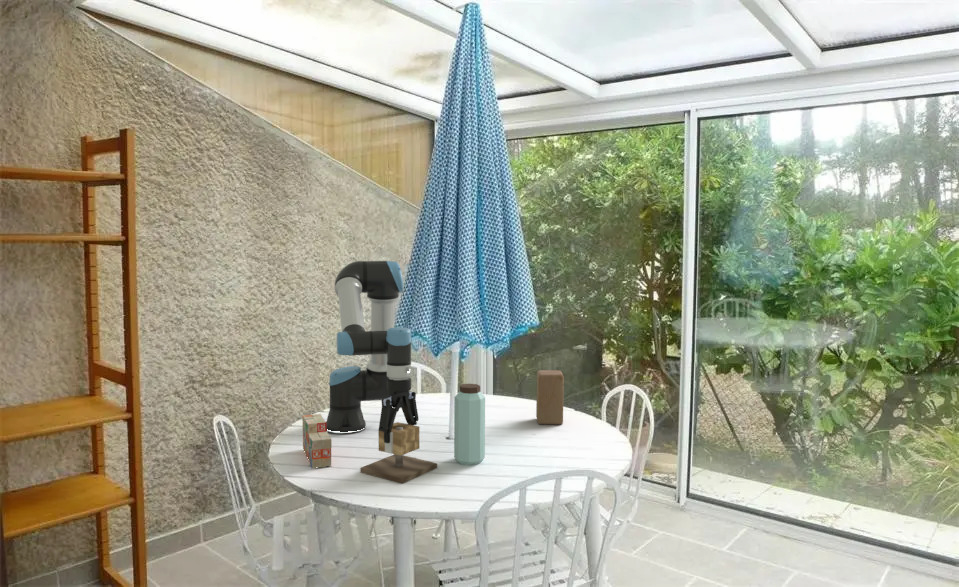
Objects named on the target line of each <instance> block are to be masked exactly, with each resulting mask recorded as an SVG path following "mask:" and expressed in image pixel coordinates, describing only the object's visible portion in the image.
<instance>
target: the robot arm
mask: <svg viewBox="0 0 959 587" xmlns="http://www.w3.org/2000/svg"><path fill="white" fill-rule="evenodd" d="M403 281H404V280H403V273H402V268H401V264H399V263H398V262H397V261H394V260H393V261H392V260H358V261H352V262H350V263H348V264H347V265H346V266H344V267H343V268H342V269H341V270H340V271H339V272H338V274H337V275H336V278H335V281H334V292H335V295H336V296H337V297H338V307H339V316H340V317H339V318H340V328H341V331H340V332H337V333H336V353H337V355H339V356H350V357H352V356H368V355H370V361H369V362H368V363H367V364H366V369H364V370H362V369H361V367H360V366H357V365H355V366H353V365H352V366H350V365H349V366H345V367H340V368H337V369H334V370H332V371H331V372H330V374H329V381H328V385H329V411H328V414H327V418H326V420H325V421H326V429H328V430H331V431H340V432H348V431H357V430H361V429H363V428H365V426H366V420H365V419H364V415H363V412H362V407H361V406H362V405H361V404H362V403H361V402H366V401H367V402H368V401H370V402H371V401H372V402H373V401H381V411H380V418H379V424H378V432H379V431H382V432H384V443H385V452H384V453H387V454H391V455H393V454H392V453H393V432H391V430H392V427H393V424H394V423H395V419H396V417H397V414H398V412H399V411H400V409H401V411H402V413H403V416H404V418H405V421H406V424H409V425H414V426H417V424H418V421H419V419H420V418H419V413H418V407H417V401H416V395H417V392H415V391H412V378H411V377H412V334H411V333H412V330H411V329H410V328H408V327H401V326H400V327H396V326H395V302H396V301H397V300H398V299H399V295H400V294H399V293H403V292H404V282H403ZM364 293H366V295H367V296H366V297H367V298H368V299H369V300H370V306H371V308H370V330H368V331H367V330H366V328H365V320H364V314H363V313H364V311H363V306H362V298H361V294H364ZM365 429H366V428H365Z"/></svg>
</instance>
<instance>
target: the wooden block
mask: <svg viewBox="0 0 959 587" xmlns="http://www.w3.org/2000/svg"><path fill="white" fill-rule="evenodd" d="M564 378H565V376H564V374H563V372H562V371H561V370H559V369H558V370H555V369H554V370H553V369H551V370H549V369H548V370H546V369H545V370H544V369H543V370H540V369H539V370H537V371H536V408H535V410H536V411H535V412H536V413H535V415H536V421H537V424H539V425H551V426H552V425H559V426H560V425H562V424H563V423H564V389H565V388H564V384H565V379H564Z"/></svg>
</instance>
